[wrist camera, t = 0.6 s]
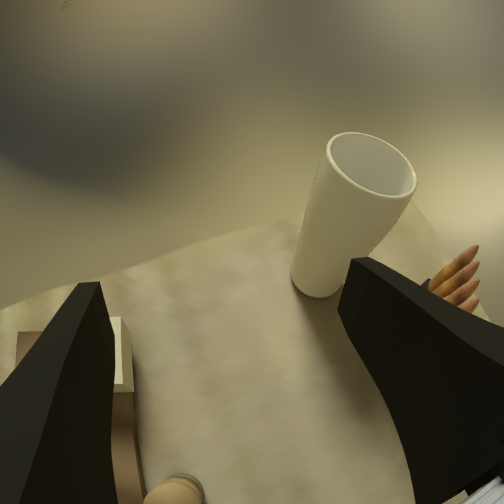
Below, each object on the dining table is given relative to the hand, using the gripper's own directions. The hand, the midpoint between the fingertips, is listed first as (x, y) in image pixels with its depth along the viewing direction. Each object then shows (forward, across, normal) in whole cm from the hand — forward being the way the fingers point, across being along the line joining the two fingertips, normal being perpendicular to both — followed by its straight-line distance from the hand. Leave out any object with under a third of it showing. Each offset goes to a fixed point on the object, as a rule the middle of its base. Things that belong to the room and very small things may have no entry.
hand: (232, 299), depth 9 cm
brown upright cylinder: (+1, +4, +20) cm, 21 cm away
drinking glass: (+17, -12, +13) cm, 24 cm away
